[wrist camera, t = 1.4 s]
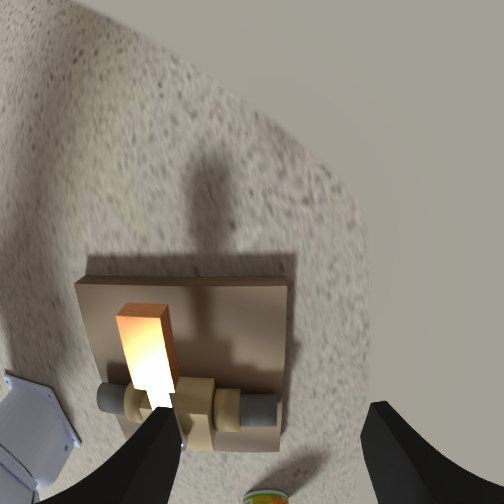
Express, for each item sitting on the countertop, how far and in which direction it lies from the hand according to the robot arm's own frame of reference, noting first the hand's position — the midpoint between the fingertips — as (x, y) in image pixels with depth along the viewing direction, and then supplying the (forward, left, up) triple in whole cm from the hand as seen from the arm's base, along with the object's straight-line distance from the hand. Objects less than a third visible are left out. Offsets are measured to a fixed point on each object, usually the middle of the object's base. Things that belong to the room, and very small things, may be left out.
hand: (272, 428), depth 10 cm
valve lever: (-3, +6, -5) cm, 8 cm away
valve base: (-7, +6, -10) cm, 14 cm away
